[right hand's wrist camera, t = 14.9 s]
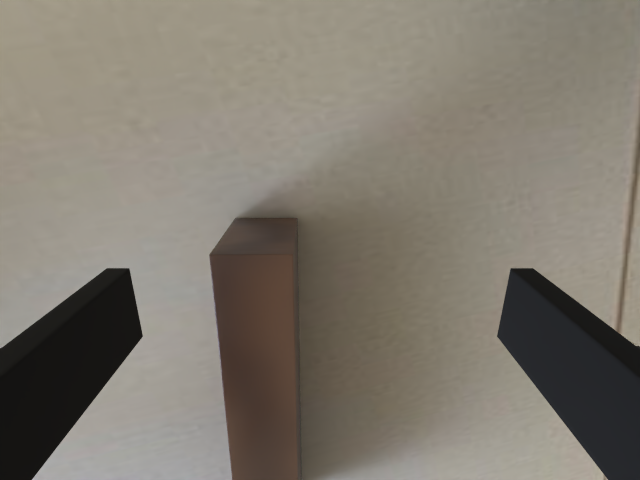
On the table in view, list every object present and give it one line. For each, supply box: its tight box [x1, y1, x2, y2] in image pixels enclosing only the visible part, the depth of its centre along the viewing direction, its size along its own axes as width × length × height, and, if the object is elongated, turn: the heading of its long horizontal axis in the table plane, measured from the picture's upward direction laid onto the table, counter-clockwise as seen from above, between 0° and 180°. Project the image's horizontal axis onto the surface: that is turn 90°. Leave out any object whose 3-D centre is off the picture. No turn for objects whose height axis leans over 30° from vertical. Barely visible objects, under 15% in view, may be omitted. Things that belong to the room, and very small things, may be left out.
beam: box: [209, 218, 301, 480], centre depth 30 cm, size 5×30×8 cm, turn 0°
